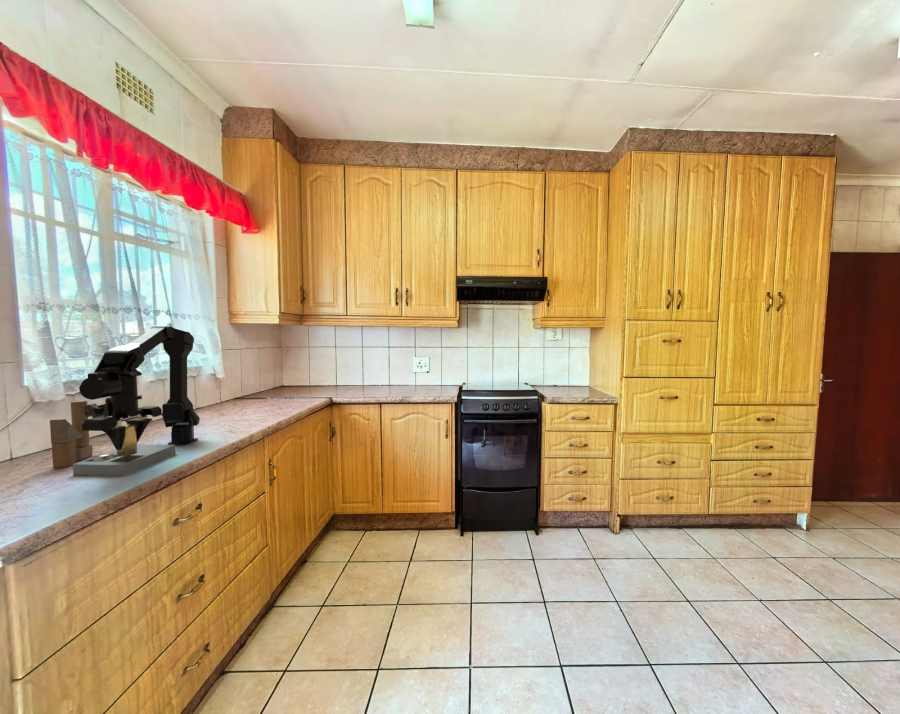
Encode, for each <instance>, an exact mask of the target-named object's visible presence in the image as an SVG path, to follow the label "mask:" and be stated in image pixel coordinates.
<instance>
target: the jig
mask: <svg viewBox="0 0 900 714" xmlns="http://www.w3.org/2000/svg"><path fill="white" fill-rule="evenodd" d="M176 448H177V447H176V445H168V444H150V443H149V444H144V443H143V444H139V443H137V453H136V454H133V455H129V456H117V454H116V449H115V450H111V451H109V452H107V453H114V458H113V459H110V460H107V461H104V462H93V457H91V458H86V459H83V460H81V461H77V462H76V463H75V464H73V465H72V473H73V476H102V477H103V476H109V477H110V476H111V477H112V476H113V477H117V476H118V477H123V476H126V475H128V474H130V473H134V472H136V471H138V470H141V469H142V468H146V467H148V466H150V465H152V464H155V463H158V462H160V461H162V460H165V459H167V458H170V457H172V456H174V455H176V453H177V452H176Z"/></svg>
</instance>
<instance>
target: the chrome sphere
mask: <svg viewBox="0 0 900 714" xmlns="http://www.w3.org/2000/svg"><path fill="white" fill-rule="evenodd" d="M92 458H93V462H104V461H107V460H110V459H113V458H114V453H108V452H103V453H98V454H95V455H92Z"/></svg>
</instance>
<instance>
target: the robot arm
mask: <svg viewBox="0 0 900 714" xmlns="http://www.w3.org/2000/svg"><path fill="white" fill-rule="evenodd" d="M194 343H195V337H194V335H193V334H191V332H189V331H185V330H182V329H179V328H178V329H177V328H175V327H173V326H170V325H168V324H167V325H166V324H165V325H163V324H162V325H160V324H159V325H158V324H157V325H154V326H153V325H152V326H151V327H150V329H149V330H147V331H145V332H144V333H142V334H141V335H140V336H138V337H137V338H135V339H134V340H132V341H130V342H129V343H126V344H122V345H118V346H114V347H112V348H110V349H107V350H106V351H105V352H104V353H103V355H102V358H101V359H100V361H99V362H98V365H97V366H96V368H95V370H94V372H89V373H87V377H86V378H85V379H84V380H82V382H81V383H80V385H79V386H78V387H79V389H78V390H79V393H80V395H81V396H83V397H82V398H85V399H87V400H92V401H93V400H98V399H102V398H106V399H105V401H104V402H105V403H102V404H99V405H98V404H97V403H90V404H87V405H86V406H84V413H85V416H86V417H88V419H86V420H85V421H84V422H83V423H82V431H89V432H91V431H93V432H95V431H97V432H104V433H105V434H106V435H107V437H108V438H109V439H110V441H111V443H112V445H113V446H114V449H115V450H121V449H122V446H123V441H124V435H125V430H126V426H122V423H123V422H125V423H126V425H136V435H137V444H139V440H140V439H141V437H142V435H143V433H144V432H145V430H146V428H147V426H148V425H149V423H150V422H151V421H153V418H156V417H160V416H162V419H163V422H164V426H165V428H171V432H170V435H171V436H170V437H171V439H170V440H171V441H170V442H168V443H167V445H175V446H185V445H188V444H191V443H194V442H196V441H198V440H199V438H198V437H195V432H194V431H195V429H194V428H195V427H194V426H198V425H199V424H200V416H199V415H198V414H197V413H196V412H195V410H194V404H193V402H192V401H191V400H190V399H189V397H188V356H189V355H190V353H191V352H192V350H194V349H193V348H194ZM160 344H162V347H163V350H164V352H165V353H166V354H167V355H168V357H169V398H168V400H167V401H166V403H163V404H162V406H161V407H162V408H161V407H160V406H157V405H156V406H155V405H153V406H152V405H148V406H147V405H144V406H141V407H139V400H142V399H143V397H142V395H138V377H139V376H142V375H143V373H142V372H141V371H139V370H138V368H139V367H140V366H141V365H142V364H143V363H144V362H145V360H146V359H145V355H147V354H148V353H149V352H150V351H152V350H153V349H154V348H156V347H157V346H159V345H160ZM148 416H150V417H152V418H149V417H148ZM90 417H91V418H90Z"/></svg>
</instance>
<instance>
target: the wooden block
mask: <svg viewBox="0 0 900 714" xmlns="http://www.w3.org/2000/svg"><path fill="white" fill-rule="evenodd" d="M86 405H88V399H87V400H86V399H79V400H72V401H70V416H71V418H70V419H71V423H70V422H69V421H68V420H67V419H65V418H62V419H50V420H49V428H50V432H49V433H50V444H51V452H52V453H51V454H52V455H51V457H52V458H51V459H52V467H53V469H58V468H59V469H60V468H69V467H71V466H73V464H75V463H78V462H81V461H84V460H86V459H88V458H89V457H91V456H94V455H93V454H94V452H93V444H91V443H90V431H82V423H83V422H84V421H85V420H86V419H89V417H86V416H85V413H84V406H86Z"/></svg>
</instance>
